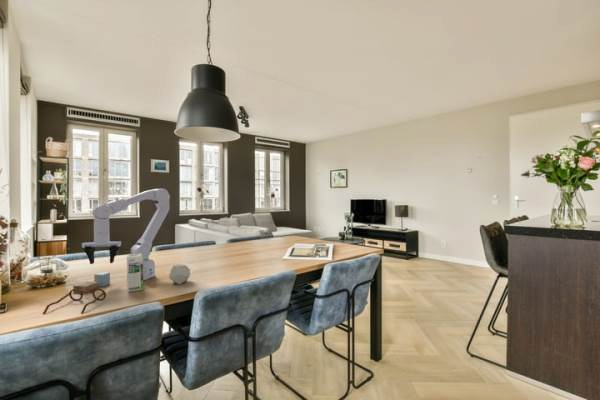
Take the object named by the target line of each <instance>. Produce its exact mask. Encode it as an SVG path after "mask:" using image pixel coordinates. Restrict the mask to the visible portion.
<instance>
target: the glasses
mask: <svg viewBox="0 0 600 400" xmlns="http://www.w3.org/2000/svg"><path fill="white" fill-rule="evenodd" d="M73 291H78V292H80V293H79V294H80V298H74V297H73V296H72V292H73ZM96 291H100V292H102V293H101V294H99V295H98V296H96V294H95V293H96ZM84 294H92V297H93V300H92V301H89V302H87V303H86V304H84V306H83V308H82V309H81V312H80V314H81V315H83V314H84V313H85V311H86V309H87V307H88V306H89V305H91V304H94V303H96V302H97V301H103V300H105V299H106V297H107V293H106V291H105V290H104V289H102V288H99V289H95V290H93V291H84V292H82V291H81V290H79V289H73V288H72V289H71V290H70V291H69V292H68V293H67V294H65V295H64V296H62V297H61V298H59V299H58V300H57V301H54V302H51V303H48V304H47V305H46V307H45V309H44V310H43V312H42V315H45V314H46V313H47V311H48V310H49V308H50V307H51V306H53V305H55V304H56V305H57V304H59V303H60V302H62V301H63V300H65V299H66V298H67V297H69V298H70V299H71V301H74V302H75V301H77V302H78V301H81V300H82V299H83V297H84ZM102 296H103V297H102Z"/></svg>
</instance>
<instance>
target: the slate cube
mask: <svg viewBox="0 0 600 400" xmlns="http://www.w3.org/2000/svg"><path fill="white" fill-rule="evenodd" d="M93 282H99V287H104V286H107V285H110V284H111V272H110V271H109V272H106V271H101V272H97V273H95V274H94V281H93Z"/></svg>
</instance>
